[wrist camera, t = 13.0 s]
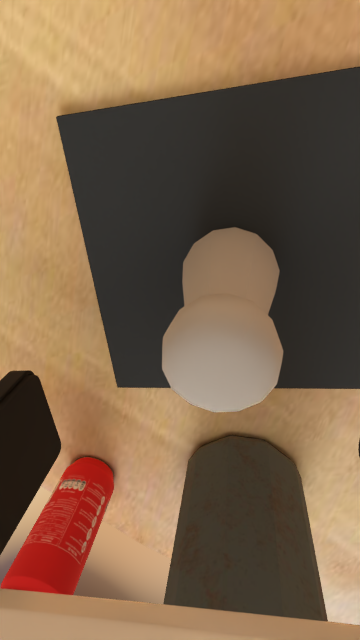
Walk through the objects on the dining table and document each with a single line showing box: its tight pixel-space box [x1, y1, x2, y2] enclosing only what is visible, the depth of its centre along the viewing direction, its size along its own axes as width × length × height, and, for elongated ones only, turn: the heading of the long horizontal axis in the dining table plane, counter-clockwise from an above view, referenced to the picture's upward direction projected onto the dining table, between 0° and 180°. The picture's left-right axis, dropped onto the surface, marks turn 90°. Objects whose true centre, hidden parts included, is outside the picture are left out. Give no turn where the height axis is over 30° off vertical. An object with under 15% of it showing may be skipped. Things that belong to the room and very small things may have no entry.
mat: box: [56, 67, 360, 389], centre depth 23 cm, size 20×20×1 cm
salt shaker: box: [162, 227, 283, 412], centre depth 17 cm, size 6×6×13 cm
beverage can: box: [1, 457, 114, 595], centre depth 29 cm, size 5×5×12 cm
